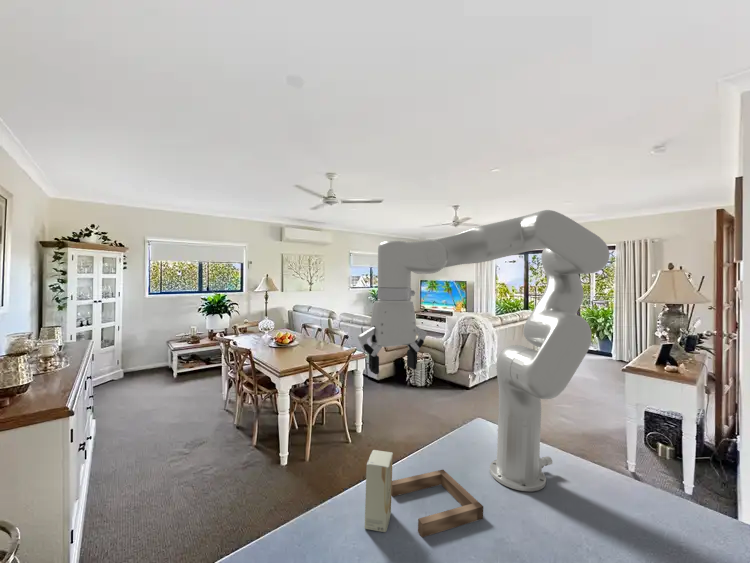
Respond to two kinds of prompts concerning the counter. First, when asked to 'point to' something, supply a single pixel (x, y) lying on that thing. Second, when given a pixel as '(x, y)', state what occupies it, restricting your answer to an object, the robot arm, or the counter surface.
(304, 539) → the counter surface
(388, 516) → the skincare box
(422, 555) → the counter surface
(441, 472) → the open wooden u frame
